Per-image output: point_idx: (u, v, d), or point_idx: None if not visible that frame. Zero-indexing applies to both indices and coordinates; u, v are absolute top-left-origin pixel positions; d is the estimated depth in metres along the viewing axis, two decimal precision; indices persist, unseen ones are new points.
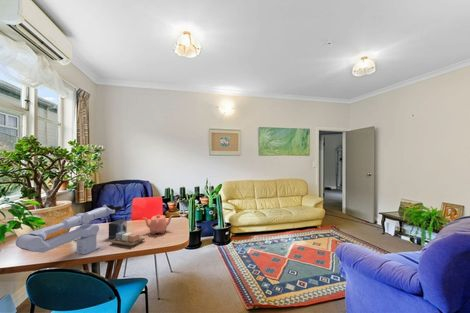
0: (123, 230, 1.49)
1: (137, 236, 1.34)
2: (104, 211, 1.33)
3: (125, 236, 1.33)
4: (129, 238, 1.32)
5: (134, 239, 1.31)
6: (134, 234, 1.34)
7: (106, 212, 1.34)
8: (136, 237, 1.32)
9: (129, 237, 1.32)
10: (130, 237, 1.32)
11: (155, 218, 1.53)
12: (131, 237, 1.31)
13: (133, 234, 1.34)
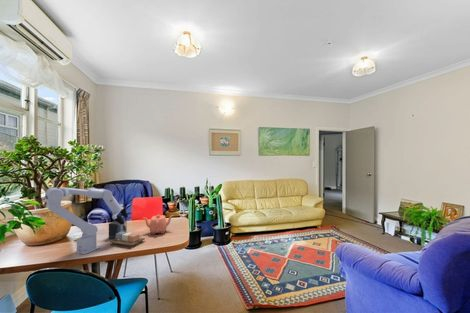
0: (123, 230, 1.49)
1: (137, 236, 1.34)
2: (115, 210, 1.36)
3: (125, 236, 1.33)
4: (129, 238, 1.32)
5: (134, 239, 1.31)
6: (134, 234, 1.34)
7: (114, 212, 1.36)
8: (136, 237, 1.32)
9: (129, 237, 1.32)
10: (130, 237, 1.32)
11: (155, 218, 1.53)
12: (131, 237, 1.31)
13: (133, 234, 1.34)
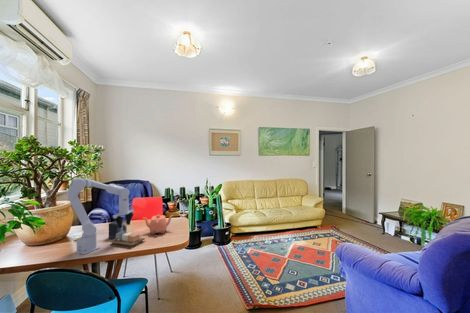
0: (123, 230, 1.49)
1: (137, 236, 1.34)
2: (120, 210, 1.36)
3: (125, 236, 1.33)
4: (129, 238, 1.32)
5: (134, 239, 1.31)
6: (134, 234, 1.34)
7: (119, 212, 1.37)
8: (136, 237, 1.32)
9: (129, 237, 1.32)
10: (130, 237, 1.32)
11: (155, 218, 1.53)
12: (131, 237, 1.31)
13: (133, 234, 1.34)
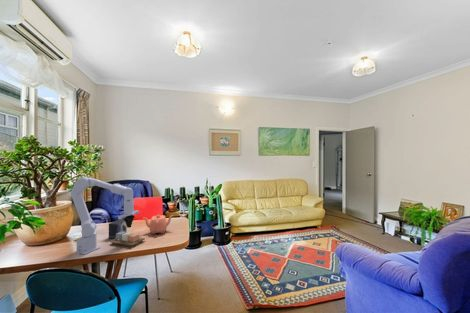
0: (123, 230, 1.49)
1: (137, 236, 1.34)
2: (125, 211, 1.34)
3: (125, 236, 1.33)
4: (129, 238, 1.32)
5: (134, 239, 1.31)
6: (134, 234, 1.34)
7: (124, 213, 1.34)
8: (136, 237, 1.32)
9: (129, 237, 1.32)
10: (130, 237, 1.32)
11: (155, 218, 1.53)
12: (131, 237, 1.31)
13: (133, 234, 1.34)
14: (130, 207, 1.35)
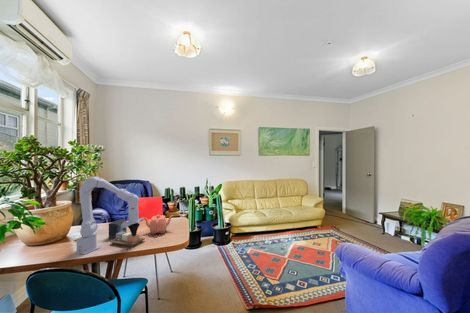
0: (123, 230, 1.49)
1: (137, 236, 1.34)
2: (130, 219, 1.31)
3: (125, 236, 1.33)
4: (129, 239, 1.32)
5: (134, 239, 1.31)
6: None
7: (129, 221, 1.31)
8: (136, 238, 1.32)
9: (129, 238, 1.32)
10: (130, 237, 1.32)
11: (155, 218, 1.53)
12: (131, 237, 1.31)
13: None
14: (135, 215, 1.32)
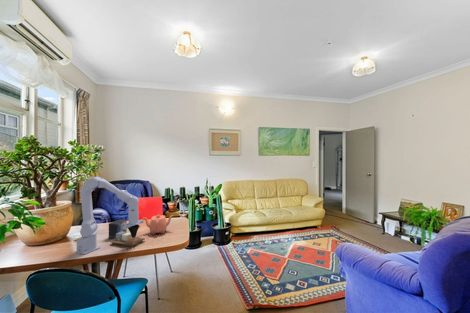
0: (123, 230, 1.49)
1: (137, 239, 1.34)
2: (130, 221, 1.31)
3: (125, 236, 1.33)
4: None
5: None
6: None
7: (129, 222, 1.31)
8: None
9: (129, 240, 1.32)
10: (130, 240, 1.32)
11: (155, 218, 1.53)
12: (131, 240, 1.31)
13: None
14: (135, 217, 1.32)
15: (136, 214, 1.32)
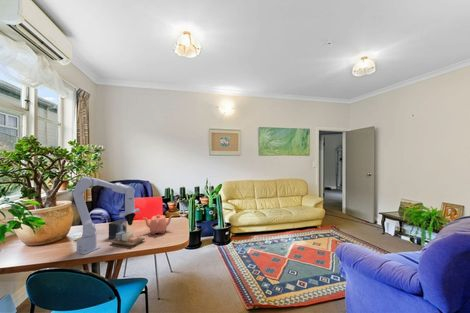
0: (123, 230, 1.49)
1: (137, 239, 1.34)
2: (127, 209, 1.37)
3: (125, 236, 1.33)
4: None
5: None
6: (134, 237, 1.34)
7: (125, 211, 1.38)
8: None
9: (129, 240, 1.32)
10: (130, 240, 1.32)
11: (155, 218, 1.53)
12: (131, 240, 1.31)
13: (133, 237, 1.34)
14: (131, 205, 1.38)
15: (133, 202, 1.40)
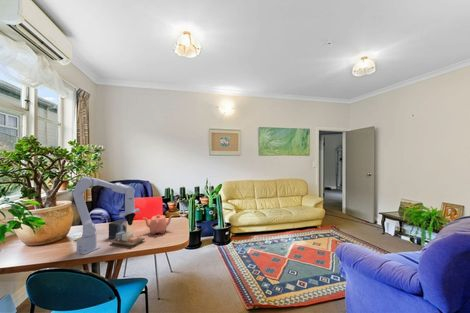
0: (123, 230, 1.49)
1: (137, 239, 1.34)
2: (127, 209, 1.37)
3: (125, 236, 1.33)
4: None
5: None
6: (134, 237, 1.34)
7: (125, 211, 1.38)
8: None
9: (129, 240, 1.32)
10: (130, 240, 1.32)
11: (155, 218, 1.53)
12: (131, 240, 1.31)
13: (133, 237, 1.34)
14: (131, 205, 1.38)
15: (133, 202, 1.40)
